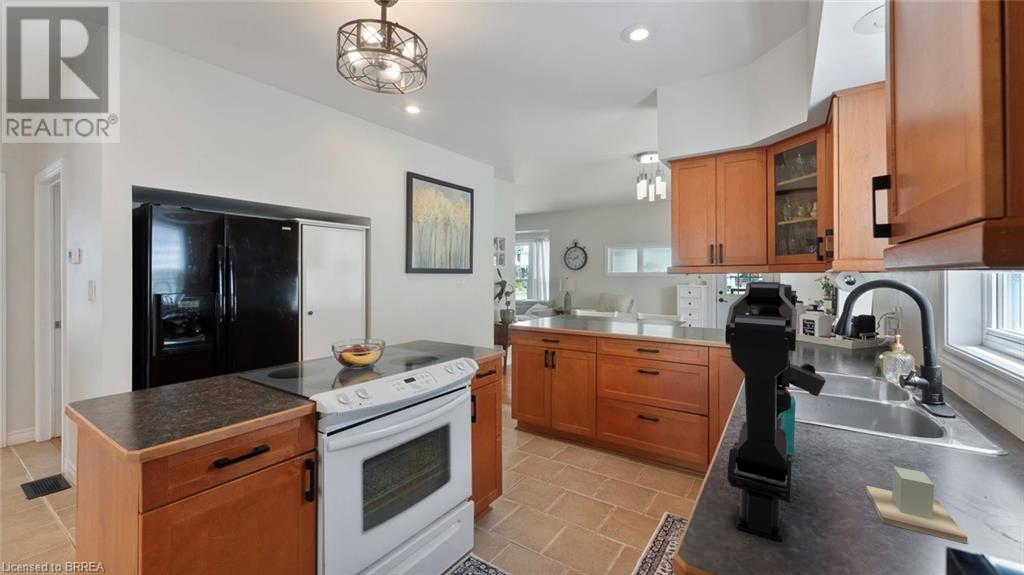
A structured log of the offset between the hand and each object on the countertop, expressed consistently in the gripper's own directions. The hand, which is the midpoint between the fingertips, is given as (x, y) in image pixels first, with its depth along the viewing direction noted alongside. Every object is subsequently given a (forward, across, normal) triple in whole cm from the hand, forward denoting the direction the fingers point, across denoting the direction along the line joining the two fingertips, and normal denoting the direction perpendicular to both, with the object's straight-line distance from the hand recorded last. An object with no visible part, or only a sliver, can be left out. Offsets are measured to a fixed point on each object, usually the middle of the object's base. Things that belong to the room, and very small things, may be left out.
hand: (766, 430), depth 78 cm
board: (+12, +5, -22) cm, 25 cm away
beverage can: (+12, +19, -3) cm, 23 cm away
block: (+11, +5, -22) cm, 25 cm away
